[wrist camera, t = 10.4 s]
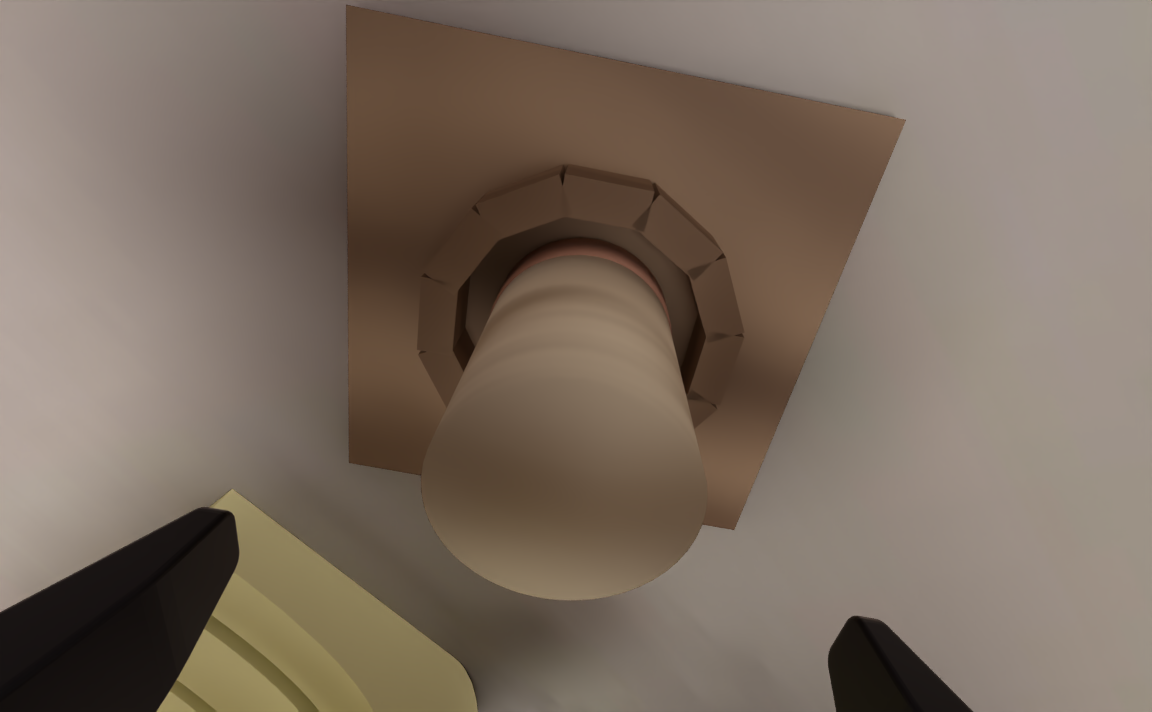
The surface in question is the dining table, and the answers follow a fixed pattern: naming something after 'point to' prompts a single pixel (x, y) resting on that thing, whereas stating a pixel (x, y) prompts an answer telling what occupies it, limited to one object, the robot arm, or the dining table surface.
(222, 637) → the slatted curved stool
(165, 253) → the dining table surface
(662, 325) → the beige rounded peg
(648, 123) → the walnut socket
